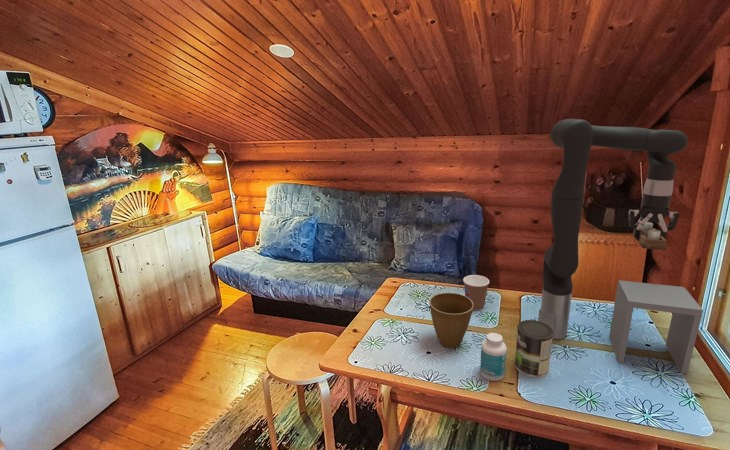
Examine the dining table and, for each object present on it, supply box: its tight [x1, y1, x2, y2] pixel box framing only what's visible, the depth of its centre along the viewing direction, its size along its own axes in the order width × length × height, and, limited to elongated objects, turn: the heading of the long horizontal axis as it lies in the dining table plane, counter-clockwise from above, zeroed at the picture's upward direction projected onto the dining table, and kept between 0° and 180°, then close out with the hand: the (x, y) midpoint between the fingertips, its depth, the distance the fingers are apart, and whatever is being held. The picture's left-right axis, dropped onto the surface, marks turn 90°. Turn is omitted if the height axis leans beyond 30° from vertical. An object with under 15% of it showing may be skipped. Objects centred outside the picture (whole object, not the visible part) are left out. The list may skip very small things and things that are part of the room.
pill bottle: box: [479, 332, 508, 382], centre depth 119 cm, size 8×7×14 cm
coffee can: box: [514, 319, 554, 378], centre depth 121 cm, size 10×10×14 cm
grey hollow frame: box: [608, 279, 704, 375], centre depth 123 cm, size 15×18×22 cm
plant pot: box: [429, 292, 474, 349], centre depth 135 cm, size 15×15×16 cm
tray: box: [632, 222, 668, 251], centre depth 130 cm, size 14×6×5 cm, turn 158°
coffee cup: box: [462, 274, 490, 311], centre depth 159 cm, size 10×10×12 cm
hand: (648, 240), depth 131 cm, fingers closed on tray, 6 cm apart
